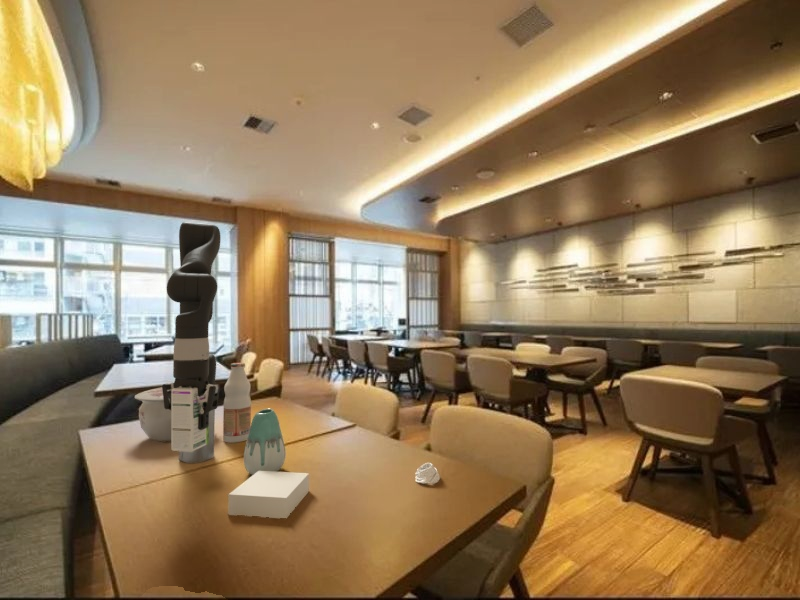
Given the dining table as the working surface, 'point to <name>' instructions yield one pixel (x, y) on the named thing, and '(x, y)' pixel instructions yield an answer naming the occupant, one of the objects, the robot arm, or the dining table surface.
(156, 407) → the chamber pot
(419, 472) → the whipped cream
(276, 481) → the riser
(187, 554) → the dining table surface
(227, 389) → the fruit juice
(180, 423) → the syrup box
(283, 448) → the vase
